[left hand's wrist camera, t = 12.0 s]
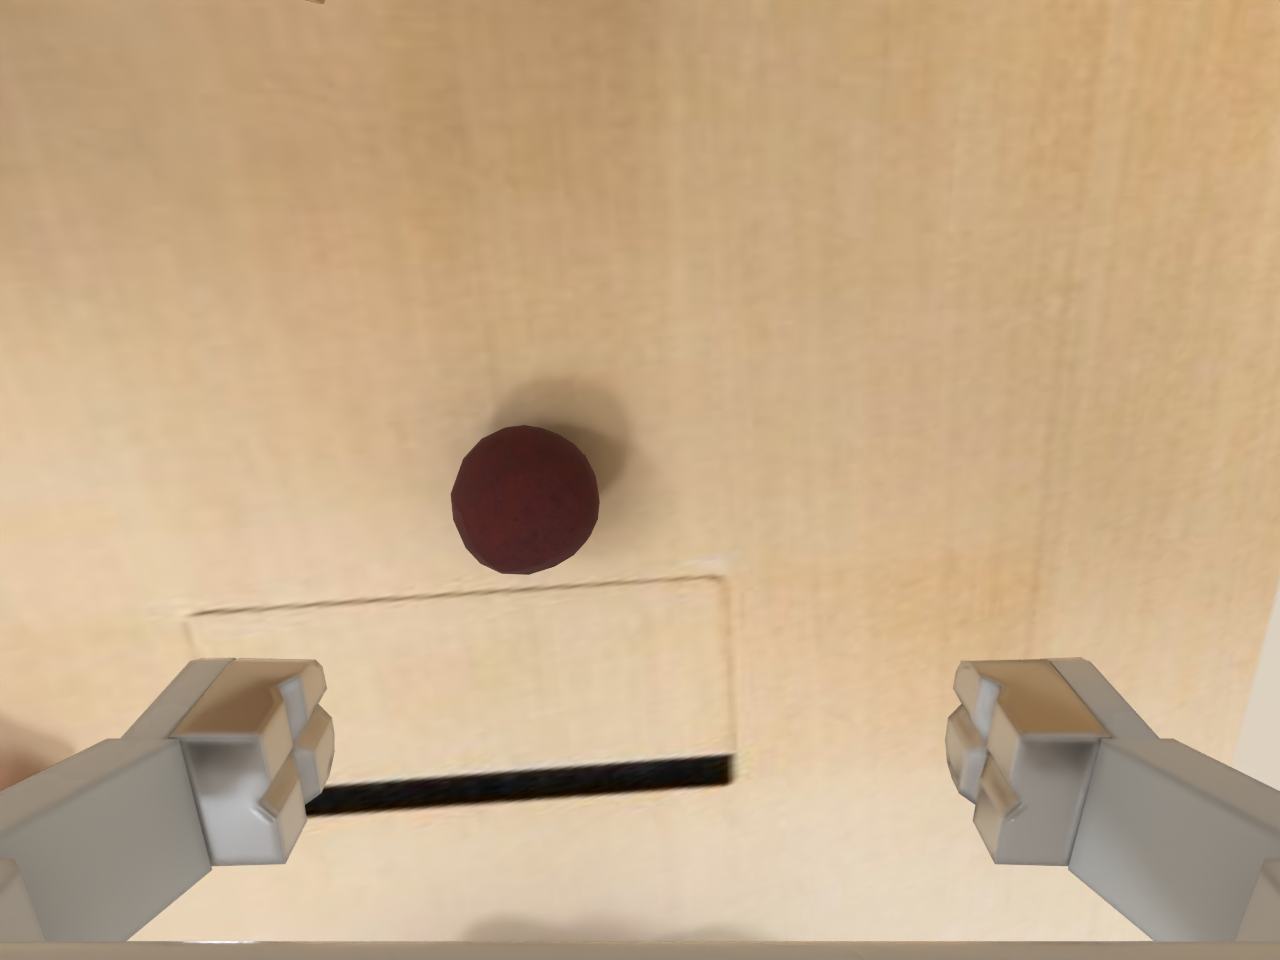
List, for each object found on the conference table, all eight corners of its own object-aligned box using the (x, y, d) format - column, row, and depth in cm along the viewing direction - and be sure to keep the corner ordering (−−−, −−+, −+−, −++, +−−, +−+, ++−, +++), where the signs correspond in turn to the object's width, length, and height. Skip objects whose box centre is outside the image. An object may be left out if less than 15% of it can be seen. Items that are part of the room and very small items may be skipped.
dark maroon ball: (627, 493, 45) (625, 551, 39) (511, 558, 47) (491, 624, 40) (554, 383, 43) (538, 424, 36) (435, 455, 44) (399, 507, 38)
